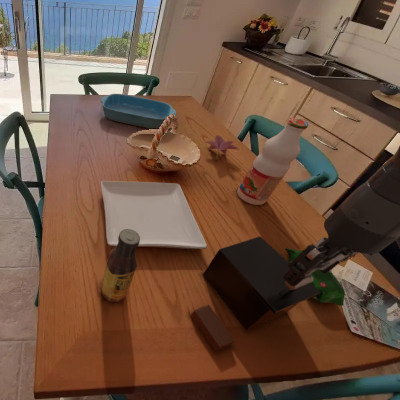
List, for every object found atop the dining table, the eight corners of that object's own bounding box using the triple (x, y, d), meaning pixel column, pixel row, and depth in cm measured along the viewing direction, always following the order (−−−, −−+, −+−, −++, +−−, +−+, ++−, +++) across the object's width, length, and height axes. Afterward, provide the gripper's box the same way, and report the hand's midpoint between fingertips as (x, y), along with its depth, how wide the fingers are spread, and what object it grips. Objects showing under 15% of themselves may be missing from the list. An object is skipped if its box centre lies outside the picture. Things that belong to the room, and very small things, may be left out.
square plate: (106, 253, 72) (107, 244, 69) (99, 188, 92) (100, 179, 90) (204, 255, 73) (209, 246, 70) (176, 190, 93) (179, 182, 91)
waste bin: (287, 312, 62) (314, 290, 56) (246, 330, 59) (269, 309, 52) (240, 261, 72) (258, 238, 66) (202, 274, 69) (217, 251, 62)
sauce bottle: (112, 309, 61) (127, 256, 47) (95, 288, 64) (104, 234, 51) (132, 293, 64) (152, 240, 50) (115, 274, 67) (129, 220, 54)
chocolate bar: (230, 345, 56) (235, 340, 54) (215, 351, 55) (219, 347, 53) (204, 309, 62) (208, 304, 60) (190, 315, 60) (194, 310, 59)
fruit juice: (266, 209, 88) (321, 132, 70) (235, 200, 91) (281, 124, 72) (264, 193, 95) (315, 118, 76) (236, 185, 98) (278, 111, 79)
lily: (237, 164, 110) (244, 140, 108) (225, 161, 102) (232, 136, 100) (208, 159, 119) (215, 137, 116) (195, 156, 111) (202, 133, 109)
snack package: (303, 255, 75) (315, 243, 71) (340, 309, 63) (356, 298, 60) (277, 253, 75) (288, 241, 72) (310, 307, 63) (324, 296, 60)
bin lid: (318, 294, 55) (337, 280, 51) (273, 313, 51) (290, 300, 48) (258, 238, 66) (270, 223, 62) (217, 251, 62) (227, 236, 58)
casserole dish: (173, 116, 139) (178, 102, 134) (170, 136, 123) (174, 121, 118) (105, 103, 146) (107, 90, 142) (93, 120, 130) (95, 106, 126)
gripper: (370, 247, 35) (296, 305, 46) (430, 223, 39) (349, 281, 50) (316, 208, 40) (260, 269, 51) (374, 191, 44) (312, 250, 55)
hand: (304, 275), depth 51 cm, fingers open, 8 cm apart
